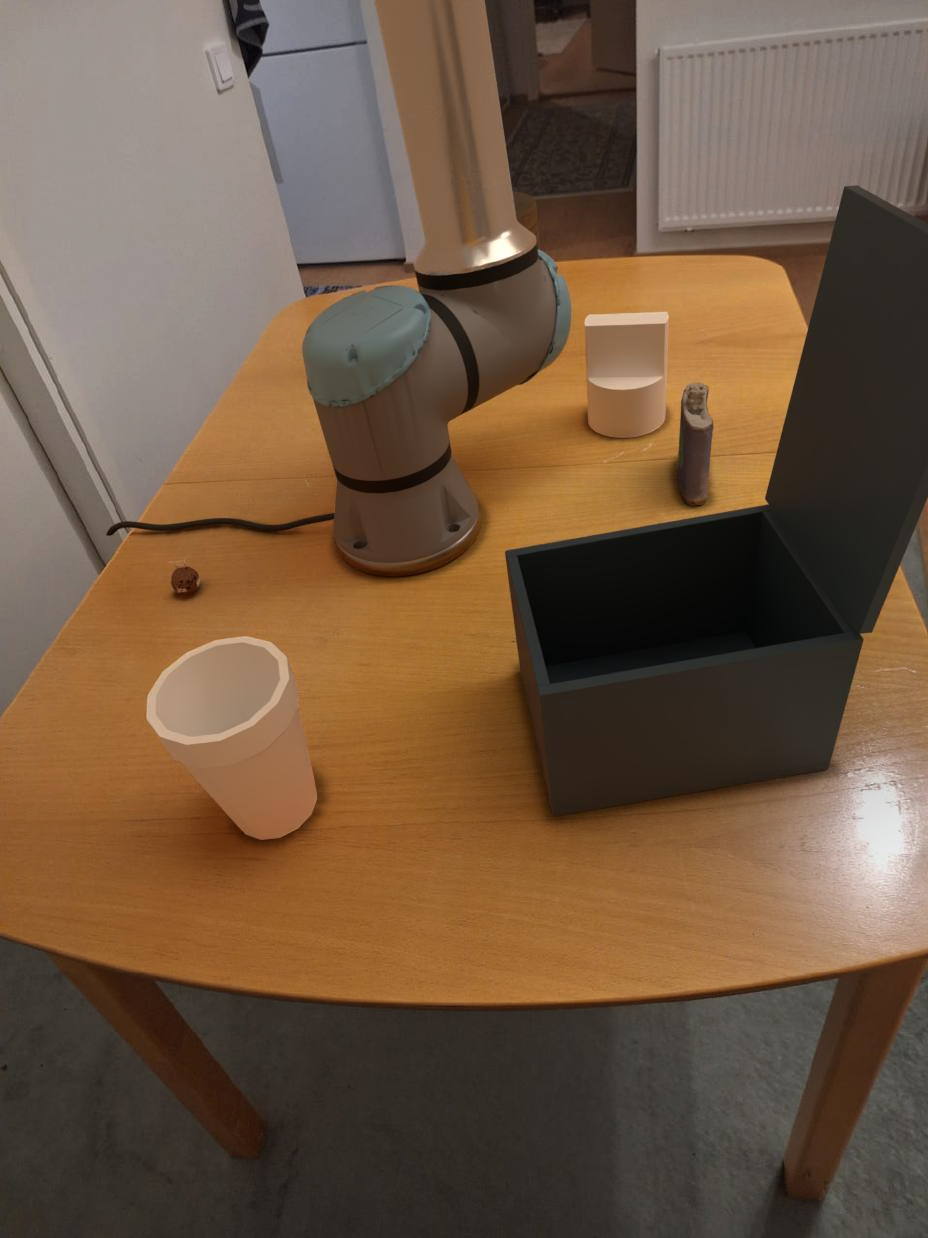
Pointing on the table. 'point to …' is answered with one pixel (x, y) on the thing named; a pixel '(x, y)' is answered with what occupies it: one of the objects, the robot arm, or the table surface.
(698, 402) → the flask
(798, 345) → the table surface
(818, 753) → the box
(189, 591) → the chocolate
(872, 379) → the lunchbox lid
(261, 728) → the foam cup
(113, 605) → the table surface
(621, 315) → the cylinder with rectangular tab
